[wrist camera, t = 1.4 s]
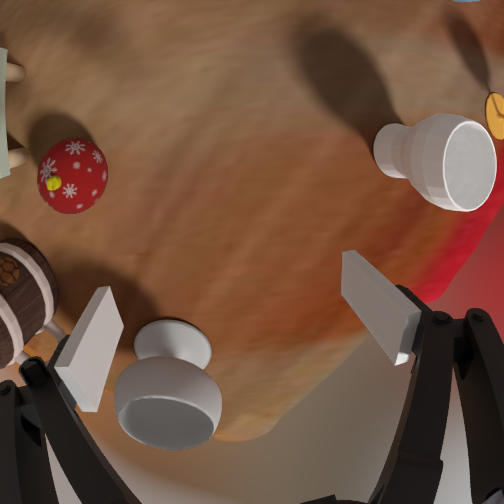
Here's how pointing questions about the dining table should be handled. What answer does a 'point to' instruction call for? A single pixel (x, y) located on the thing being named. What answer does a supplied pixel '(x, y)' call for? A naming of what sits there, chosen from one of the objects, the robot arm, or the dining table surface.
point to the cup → (440, 159)
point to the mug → (24, 300)
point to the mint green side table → (4, 158)
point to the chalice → (169, 388)
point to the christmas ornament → (72, 175)
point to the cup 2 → (495, 115)
